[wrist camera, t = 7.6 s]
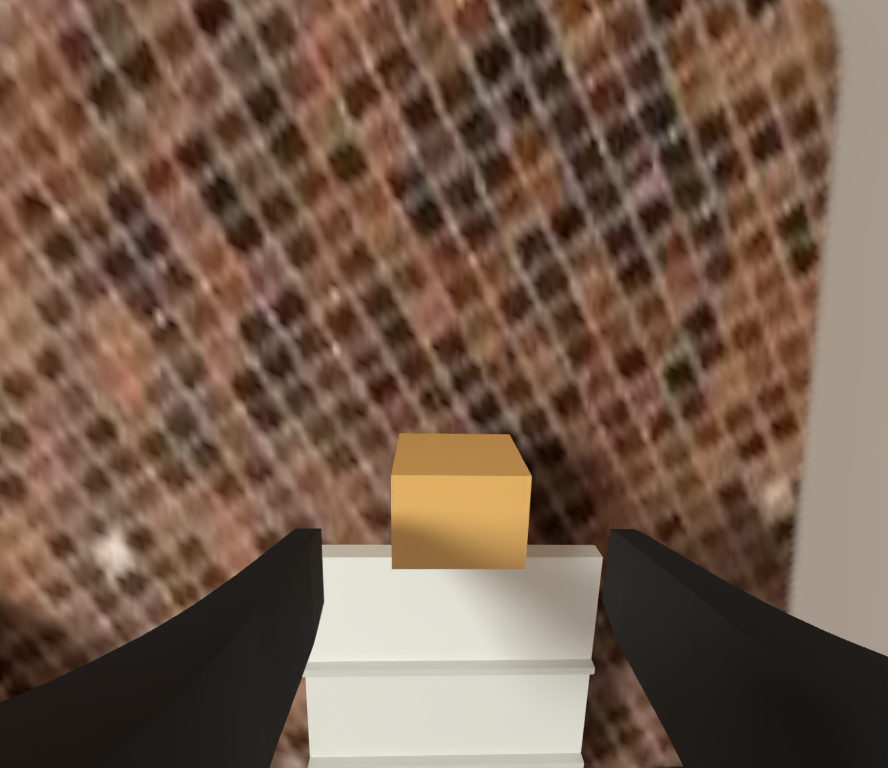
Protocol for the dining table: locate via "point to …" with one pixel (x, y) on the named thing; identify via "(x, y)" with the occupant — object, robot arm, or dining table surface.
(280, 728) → the robot arm
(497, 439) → the lid
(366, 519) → the dining table surface
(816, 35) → the dining table surface
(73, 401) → the dining table surface
